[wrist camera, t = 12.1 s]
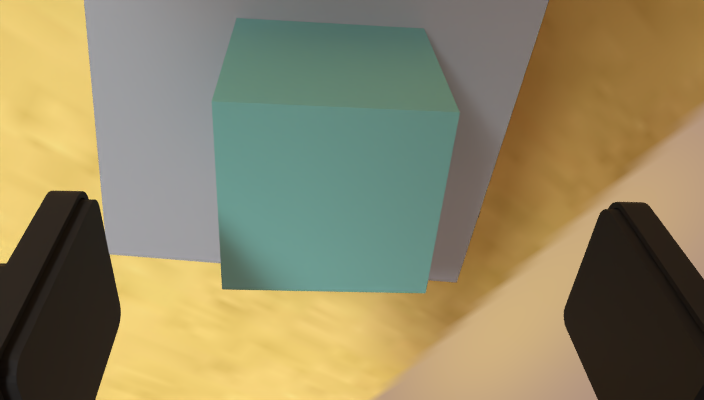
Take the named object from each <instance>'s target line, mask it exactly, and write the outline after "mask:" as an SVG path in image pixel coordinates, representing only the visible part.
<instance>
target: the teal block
mask: <svg viewBox="0 0 704 400" xmlns="http://www.w3.org/2000/svg"><path fill="white" fill-rule="evenodd" d="M459 115H460V111H459V109H458V107H457V104H456V102H455V100H454V97H453V95H452V93H451V90H450V88H449V86H448V83H447V81H446V79H445V76H444V74H443V72H442V69H441V67H440V65H439V62H438V60H437V58H436V55H435V53H434V51H433V48H432V46H431V44H430V41H429V39H428V37H427V34H426V32H425V30H424V28H406V27H388V26H370V25H352V24H334V23H316V22H298V21H280V20H262V19H245V18H236V22H235V25H234V28H233V32H232V35H231V38H230V42H229V45H228V48H227V52H226V55H225V58H224V62H223V65H222V68H221V72H220V75H219V78H218V82H217V85H216V88H215V92H214V95H213V98H212V118H213V135H214V153H215V171H216V188H217V206H218V224H219V241H220V259H221V277H222V289H232V290H284V291H336V292H388V293H426V288H427V283H428V278H429V272H430V267H431V262H432V257H433V251H434V246H435V241H436V236H437V230H438V225H439V220H440V214H441V209H442V204H443V199H444V193H445V188H446V183H447V178H448V172H449V167H450V162H451V157H452V151H453V146H454V141H455V136H456V130H457V125H458V120H459Z"/></svg>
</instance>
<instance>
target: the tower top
mask: <svg viewBox="0 0 704 400" xmlns="http://www.w3.org/2000/svg"><path fill="white" fill-rule="evenodd" d="M548 2H549V0H84V6H85V17H86V28H87V39H88V49H89V60H90V71H91V82H92V93H93V104H94V115H95V126H96V137H97V148H98V159H99V170H100V181H101V192H102V203H103V214H104V225H105V236H106V240H107V245H108V250H109V254H113V255H125V256H138V257H150V258H162V259H175V260H187V261H199V262H211V263H221V259H220V241H219V224H218V206H217V188H216V171H215V153H214V135H213V118H212V98H213V95H214V92H215V88H216V85H217V82H218V78H219V75H220V72H221V68H222V65H223V62H224V58H225V55H226V52H227V48H228V45H229V42H230V38H231V35H232V32H233V28H234V25H235V22H236V18H245V19H262V20H280V21H298V22H316V23H334V24H352V25H370V26H388V27H406V28H424V30H425V32H426V34H427V37H428V39H429V41H430V44H431V46H432V48H433V51H434V53H435V55H436V58H437V60H438V62H439V65H440V67H441V69H442V72H443V74H444V76H445V79H446V81H447V83H448V86H449V88H450V90H451V93H452V95H453V97H454V100H455V102H456V104H457V107H458V109H459V111H460V115H459V120H458V125H457V130H456V136H455V141H454V146H453V151H452V157H451V162H450V167H449V172H448V178H447V183H446V188H445V193H444V199H443V204H442V209H441V214H440V220H439V225H438V230H437V236H436V241H435V246H434V251H433V257H432V262H431V267H430V272H429V278H428V280H432V281H445V282H457V280H458V277H459V274H460V270H461V267H462V264H463V261H464V258H465V255H466V252H467V249H468V246H469V243H470V240H471V237H472V234H473V231H474V228H475V225H476V222H477V219H478V215H479V212H480V209H481V206H482V203H483V200H484V197H485V194H486V191H487V188H488V185H489V182H490V179H491V176H492V173H493V170H494V167H495V164H496V160H497V157H498V154H499V151H500V148H501V145H502V142H503V139H504V136H505V133H506V130H507V127H508V124H509V121H510V118H511V115H512V112H513V109H514V106H515V102H516V99H517V96H518V93H519V90H520V87H521V84H522V81H523V78H524V75H525V72H526V69H527V66H528V63H529V60H530V57H531V54H532V51H533V47H534V44H535V41H536V38H537V35H538V32H539V29H540V26H541V23H542V20H543V17H544V14H545V11H546V8H547V5H548Z"/></svg>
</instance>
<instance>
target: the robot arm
mask: <svg viewBox="0 0 704 400" xmlns="http://www.w3.org/2000/svg"><path fill="white" fill-rule="evenodd" d="M120 316H121V308H120V302H119V297H118V293H117V288H116V283H115V278H114V274H113V269H112V264H111V259H110V255H109V250H108V245H107V240H106V236H105V231H104V226H103V221H102V217H101V212H100V207H99V204H98V202H97V200H89V199H88V196H87V194H86V193H85V192H83V191H50V192H48V194H47V195H46V196H45V198H44V200H43V202H42V203H41V205H40V207H39V209H38V210H37V212H36V214H35V216H34V217H33V219H32V221H31V222H30V224H29V226H28V228H27V229H26V231H25V233H24V235H23V236H22V238H21V240H20V242H19V243H18V245H17V247H16V248H15V250H14V252H13V254H12V255H11V257H10V259H9V261H8V262H7V264H0V400H95V398H96V395H97V392H98V389H99V386H100V383H101V380H102V377H103V374H104V371H105V367H106V364H107V361H108V358H109V355H110V352H111V349H112V346H113V343H114V340H115V337H116V333H117V330H118V327H119V323H120ZM564 321H565V326H566V328H567V331H568V333H569V335H570V338H571V340H572V342H573V344H574V347H575V349H576V351H577V353H578V356H579V358H580V360H581V362H582V365H583V367H584V369H585V371H586V373H587V376H588V378H589V380H590V382H591V385H592V387H593V389H594V392H595V394H596V396H597V398H598V400H704V279H703V278H702V276H701V275H700V274H699V272H698V271H697V270H696V268H695V267H694V266H693V264H692V263H691V262H690V260H689V259H688V257H687V256H686V255H685V253H684V252H683V251H682V249H681V248H680V247H679V245H678V244H677V243H676V241H675V240H674V239H673V237H672V236H671V235H670V233H669V232H668V230H667V229H666V228H665V226H664V225H663V224H662V222H661V221H660V220H659V218H658V217H657V216H656V215H655V213H654V212H653V210H652V209H651V208H650V206H648V204H646V203H641V202H639V203H638V202H615V203H612V204H611V205H610V207H609V208H608V209H605V210H603V211H602V212H601V213H600V215H599V217H598V220H597V223H596V225H595V228H594V231H593V233H592V236H591V239H590V241H589V244H588V247H587V249H586V252H585V255H584V258H583V260H582V263H581V266H580V268H579V271H578V274H577V276H576V279H575V282H574V284H573V287H572V290H571V292H570V295H569V298H568V300H567V303H566V306H565V309H564Z"/></svg>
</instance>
